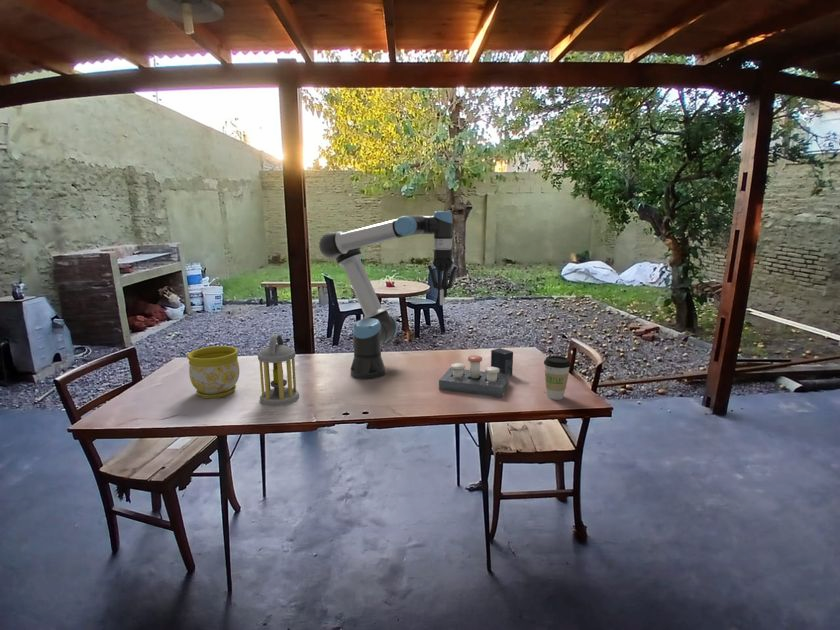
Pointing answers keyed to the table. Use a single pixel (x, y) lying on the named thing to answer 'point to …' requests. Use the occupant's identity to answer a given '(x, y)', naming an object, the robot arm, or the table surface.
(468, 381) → the mount
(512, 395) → the table surface
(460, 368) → the knob
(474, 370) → the knob mid
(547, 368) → the coffee cup
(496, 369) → the knob
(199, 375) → the flowerpot
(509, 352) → the box
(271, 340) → the lantern
